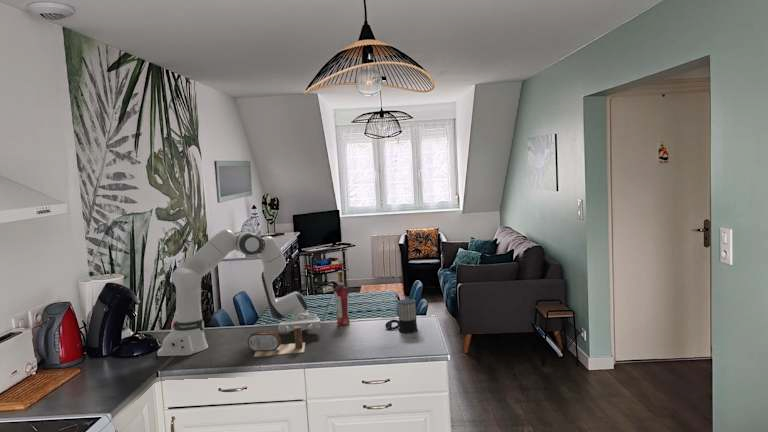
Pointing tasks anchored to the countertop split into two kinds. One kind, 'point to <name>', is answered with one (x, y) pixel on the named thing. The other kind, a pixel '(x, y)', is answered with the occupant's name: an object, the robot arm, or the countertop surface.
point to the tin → (264, 341)
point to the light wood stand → (286, 346)
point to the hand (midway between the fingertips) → (299, 329)
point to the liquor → (341, 301)
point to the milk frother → (405, 317)
